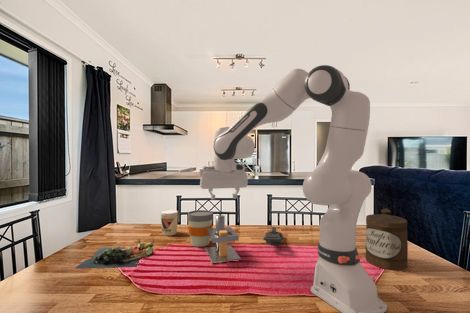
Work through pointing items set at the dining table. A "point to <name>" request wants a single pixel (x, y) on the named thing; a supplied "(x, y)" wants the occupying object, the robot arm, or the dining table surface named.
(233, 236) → the grey finned stand
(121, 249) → the plated dish
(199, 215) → the reusable coffee cup
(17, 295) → the dining table surface
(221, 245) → the wedge pin
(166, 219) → the coffee cup
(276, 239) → the zipper pull
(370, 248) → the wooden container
